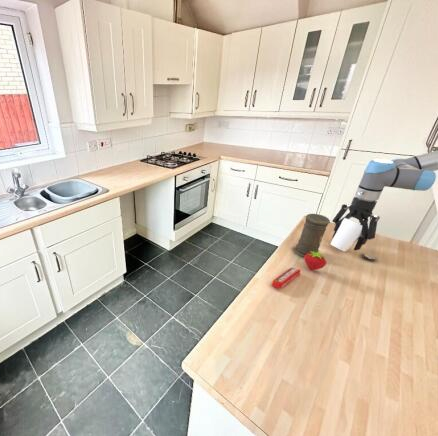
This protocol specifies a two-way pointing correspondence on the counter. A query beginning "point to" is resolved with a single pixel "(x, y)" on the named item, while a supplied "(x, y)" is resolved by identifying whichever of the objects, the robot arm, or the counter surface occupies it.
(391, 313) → the counter surface
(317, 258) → the strawberry
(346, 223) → the foam cup
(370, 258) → the puck
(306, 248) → the container
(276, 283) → the candy bar
